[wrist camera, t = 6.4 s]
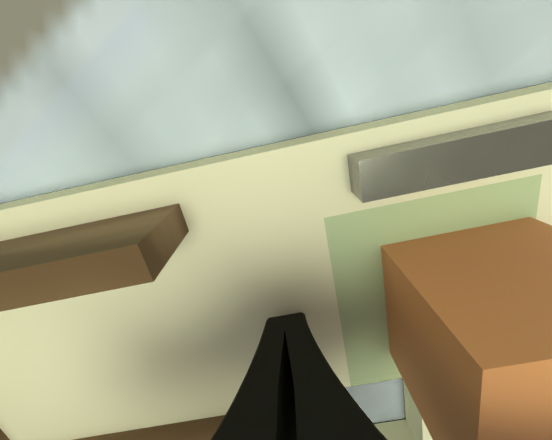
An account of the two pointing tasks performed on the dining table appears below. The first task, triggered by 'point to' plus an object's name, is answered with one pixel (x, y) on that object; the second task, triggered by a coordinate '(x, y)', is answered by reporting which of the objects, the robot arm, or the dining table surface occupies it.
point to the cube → (475, 329)
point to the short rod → (452, 158)
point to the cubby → (98, 279)
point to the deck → (241, 275)
